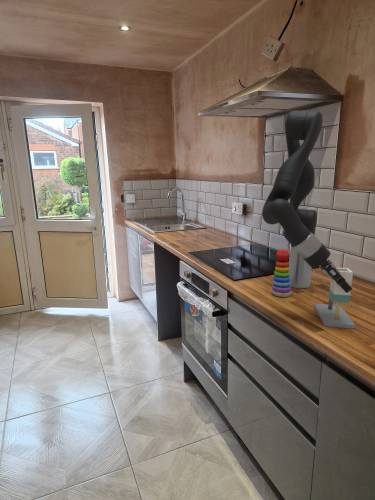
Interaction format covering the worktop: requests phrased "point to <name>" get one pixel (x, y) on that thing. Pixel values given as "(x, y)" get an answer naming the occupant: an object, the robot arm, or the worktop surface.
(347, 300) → the sleeve
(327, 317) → the pin board
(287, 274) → the stacking toy
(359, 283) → the worktop surface
